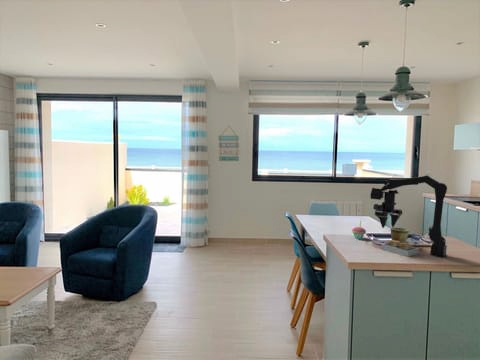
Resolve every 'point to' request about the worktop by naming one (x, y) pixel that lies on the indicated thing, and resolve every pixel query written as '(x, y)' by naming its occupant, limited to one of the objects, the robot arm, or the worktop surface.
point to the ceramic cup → (399, 234)
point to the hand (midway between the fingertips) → (387, 227)
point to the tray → (400, 250)
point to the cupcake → (359, 232)
